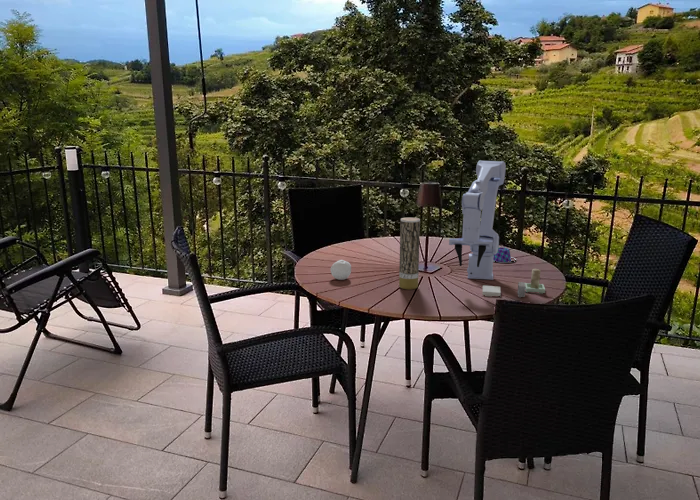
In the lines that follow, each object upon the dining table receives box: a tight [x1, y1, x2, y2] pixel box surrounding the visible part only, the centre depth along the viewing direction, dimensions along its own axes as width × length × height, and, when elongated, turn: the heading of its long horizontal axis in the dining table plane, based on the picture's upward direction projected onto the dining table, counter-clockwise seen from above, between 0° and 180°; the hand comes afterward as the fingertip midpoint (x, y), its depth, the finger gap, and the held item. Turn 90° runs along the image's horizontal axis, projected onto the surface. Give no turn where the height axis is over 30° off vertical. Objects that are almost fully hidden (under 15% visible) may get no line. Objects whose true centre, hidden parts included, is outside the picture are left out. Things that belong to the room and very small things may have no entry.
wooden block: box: [517, 281, 526, 298], centre depth 190 cm, size 2×5×4 cm, turn 167°
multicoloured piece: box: [493, 246, 517, 264], centre depth 236 cm, size 12×12×5 cm
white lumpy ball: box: [330, 259, 352, 281], centre depth 208 cm, size 8×8×8 cm
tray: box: [525, 282, 546, 294], centre depth 196 cm, size 6×6×2 cm
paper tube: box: [398, 217, 421, 291], centre depth 196 cm, size 7×7×25 cm
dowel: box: [530, 268, 541, 289], centre depth 195 cm, size 3×3×7 cm
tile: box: [481, 285, 502, 297], centre depth 192 cm, size 6×7×2 cm
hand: (469, 265), depth 192 cm, fingers open, 5 cm apart
